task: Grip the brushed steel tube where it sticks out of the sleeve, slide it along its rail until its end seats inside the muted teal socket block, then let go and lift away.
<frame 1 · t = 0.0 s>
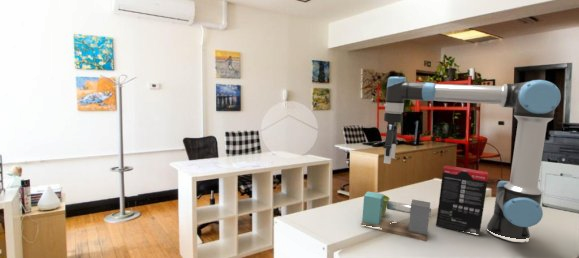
hand: (389, 160, 141), 28 cm above the table, tool pointing down, fingers open, 13 cm apart
plant pot: (377, 214, 152), on the table
teal socket block: (372, 207, 139), on the walnut board, point 7 cm above the table
walnut board: (393, 228, 136), on the table
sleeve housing: (419, 217, 131), on the walnut board, point 7 cm above the table
steel tube: (408, 208, 133), point 10 cm above the table, slide at 0.0 cm
graphics card box: (457, 229, 139), on the table
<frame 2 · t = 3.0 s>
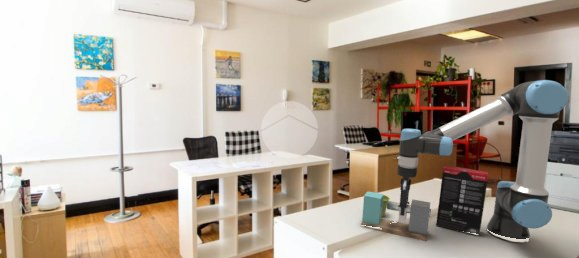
hand: (402, 220, 134), 5 cm above the table, tool pointing down, fingers closed on steel tube, 3 cm apart
steel tube: (408, 208, 133), point 10 cm above the table, slide at 0.0 cm, touching gripper
everything else where it was.
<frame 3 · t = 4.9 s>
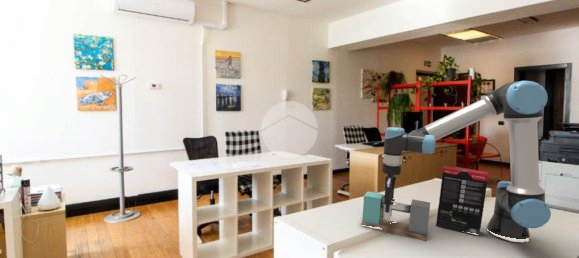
hand: (387, 217, 137), 5 cm above the table, tool pointing down, fingers closed on steel tube, 3 cm apart
steel tube: (393, 206, 135), point 10 cm above the table, slide at 6.1 cm, touching gripper
everything else where it was.
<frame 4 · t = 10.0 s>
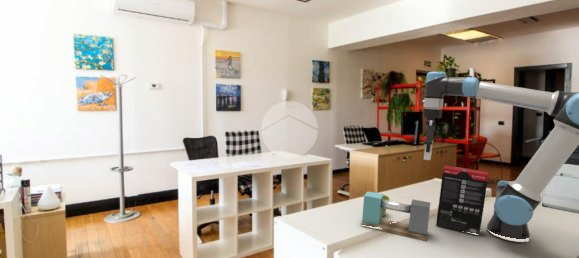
hand: (427, 157, 139), 31 cm above the table, tool pointing down, fingers open, 13 cm apart
steel tube: (393, 206, 135), point 10 cm above the table, slide at 6.0 cm
everything else where it was.
at the end: steel tube slide at 6.0 cm; the gripper is holding nothing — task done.
